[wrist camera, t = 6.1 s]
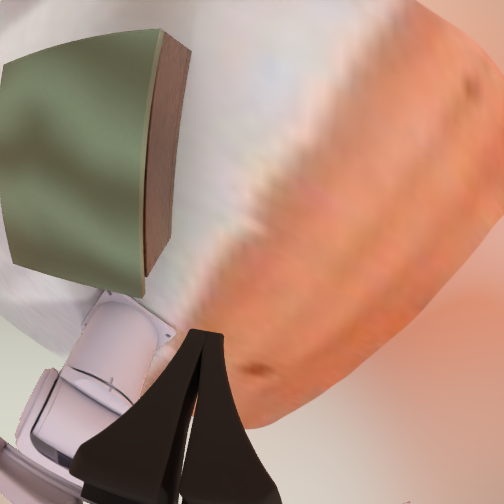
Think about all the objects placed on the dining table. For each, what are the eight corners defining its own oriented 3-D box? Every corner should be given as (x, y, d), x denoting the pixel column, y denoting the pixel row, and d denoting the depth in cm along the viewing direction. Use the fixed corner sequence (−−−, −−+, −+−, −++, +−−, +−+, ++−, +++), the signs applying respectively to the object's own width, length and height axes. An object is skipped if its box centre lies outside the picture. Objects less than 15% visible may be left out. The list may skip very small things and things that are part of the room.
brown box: (171, 237, 20) (147, 277, 16) (54, 218, 19) (18, 247, 15) (191, 51, 13) (165, 31, 9) (55, 64, 13) (10, 64, 8)
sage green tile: (145, 293, 16) (142, 298, 15) (17, 259, 15) (13, 263, 14) (165, 31, 9) (161, 28, 8) (9, 64, 8) (3, 64, 8)
